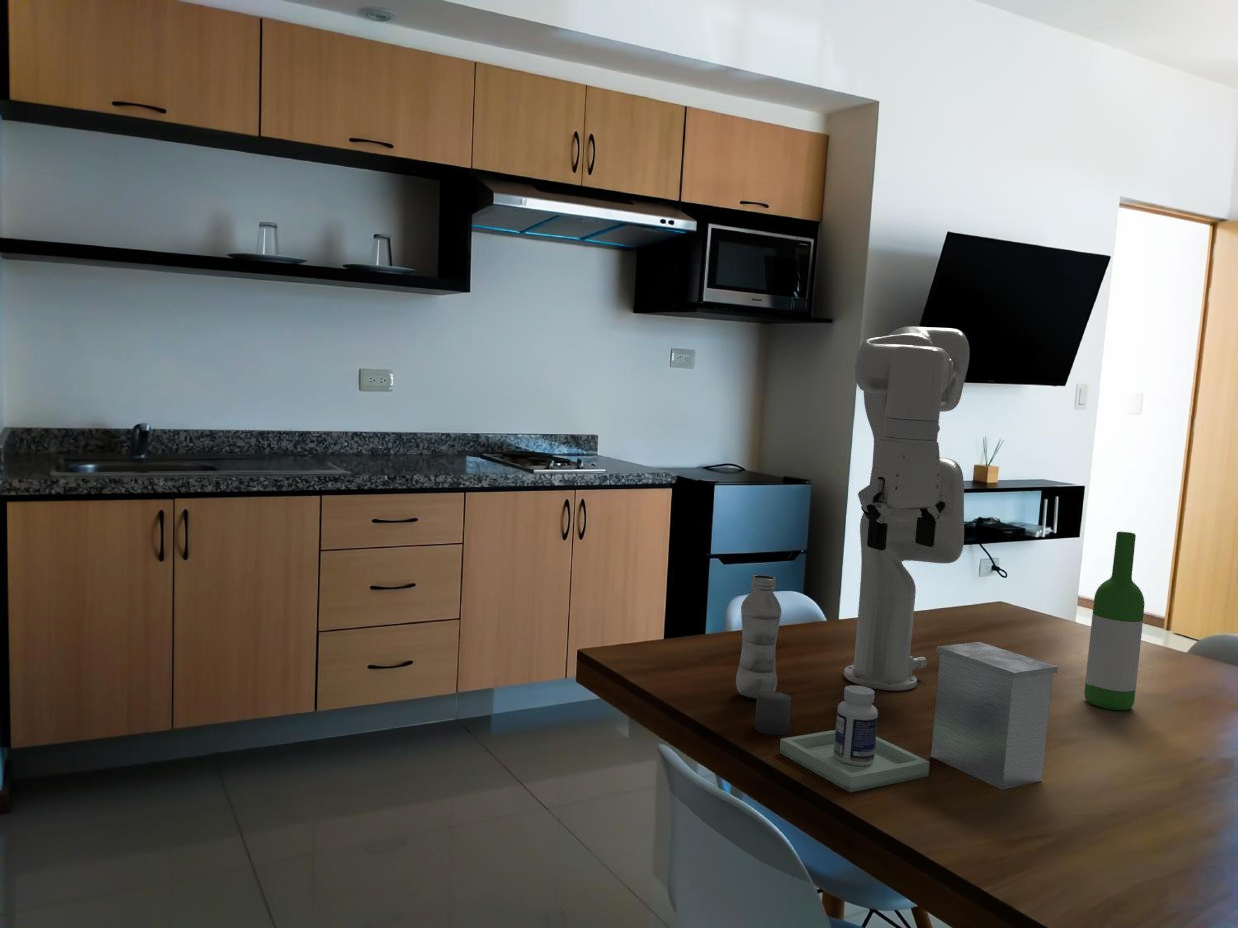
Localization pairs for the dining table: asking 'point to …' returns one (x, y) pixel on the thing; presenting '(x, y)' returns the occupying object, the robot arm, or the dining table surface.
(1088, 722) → the dining table surface
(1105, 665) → the wine bottle
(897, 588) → the robot arm
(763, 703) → the stopper
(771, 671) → the plastic bottle
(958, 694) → the metal box
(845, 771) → the tray
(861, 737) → the pill bottle
